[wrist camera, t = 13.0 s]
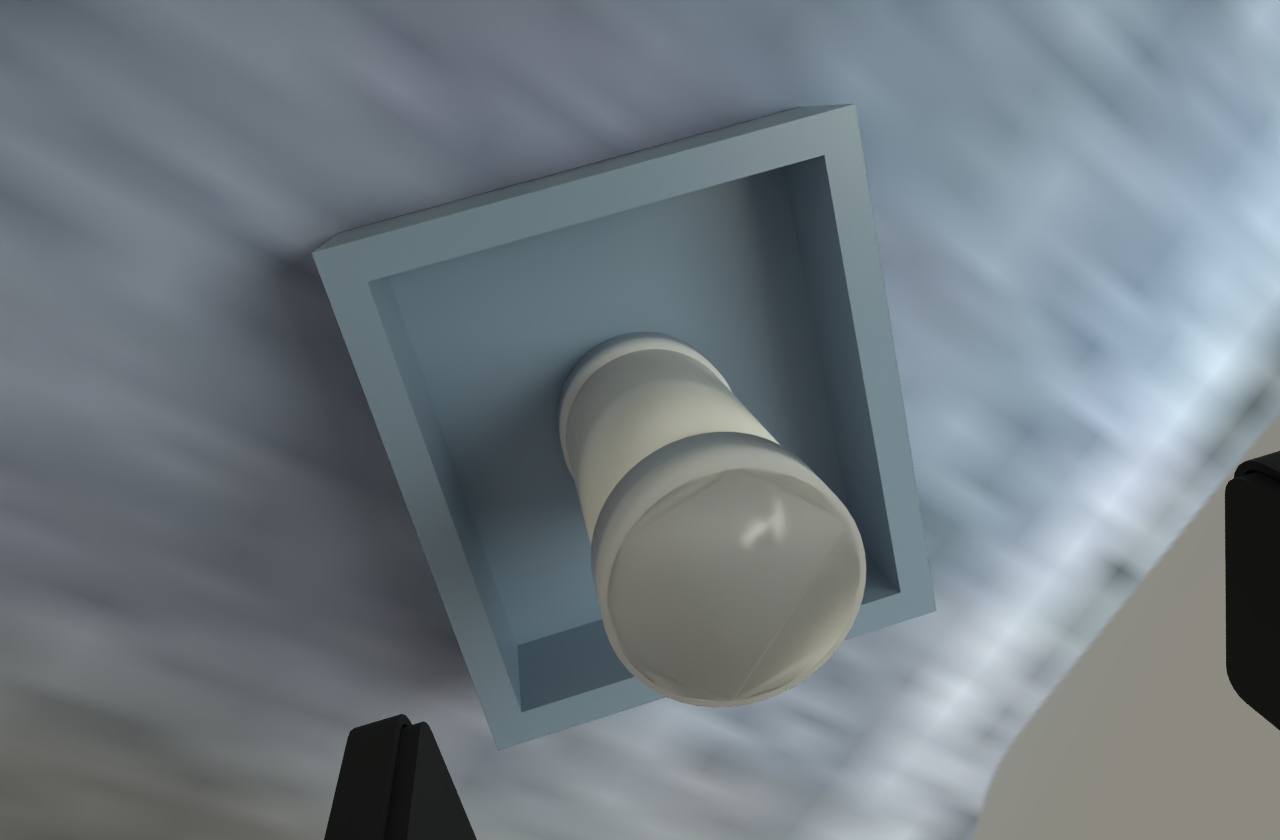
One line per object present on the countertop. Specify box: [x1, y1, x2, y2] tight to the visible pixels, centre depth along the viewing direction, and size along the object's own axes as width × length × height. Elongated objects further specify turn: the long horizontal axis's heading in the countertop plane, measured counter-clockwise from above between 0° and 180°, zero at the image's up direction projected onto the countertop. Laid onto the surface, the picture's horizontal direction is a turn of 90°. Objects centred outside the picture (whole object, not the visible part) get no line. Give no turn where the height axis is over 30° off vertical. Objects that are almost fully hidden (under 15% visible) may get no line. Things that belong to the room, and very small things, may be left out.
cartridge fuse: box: [557, 331, 866, 707], centre depth 18 cm, size 4×4×9 cm
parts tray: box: [312, 104, 936, 750], centre depth 21 cm, size 11×12×4 cm
